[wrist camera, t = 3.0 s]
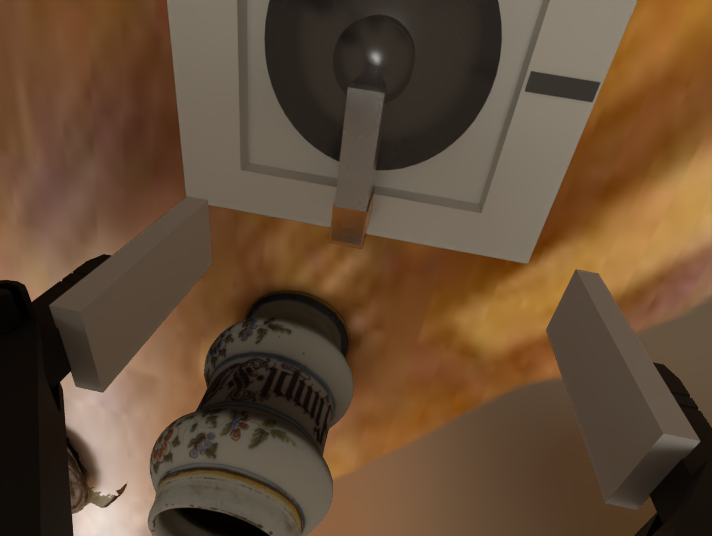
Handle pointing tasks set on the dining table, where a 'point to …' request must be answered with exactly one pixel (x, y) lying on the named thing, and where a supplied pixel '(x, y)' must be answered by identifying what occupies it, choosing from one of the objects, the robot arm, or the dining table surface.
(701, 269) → the dining table surface
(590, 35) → the panel
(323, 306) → the apothecary jar
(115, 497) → the pie
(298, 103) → the dial
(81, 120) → the dining table surface
